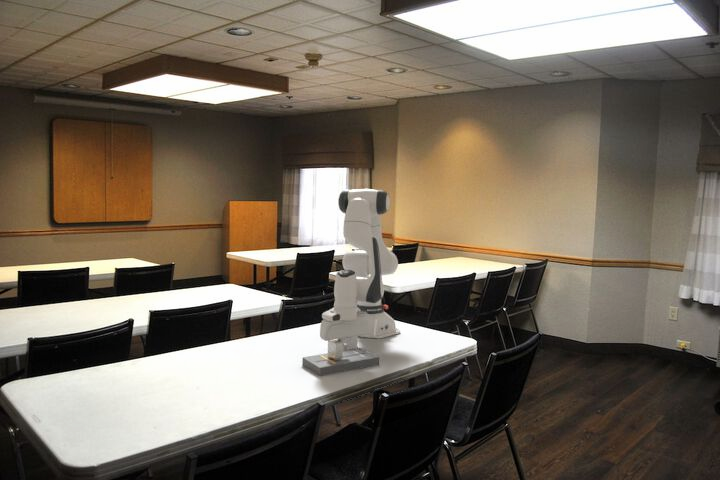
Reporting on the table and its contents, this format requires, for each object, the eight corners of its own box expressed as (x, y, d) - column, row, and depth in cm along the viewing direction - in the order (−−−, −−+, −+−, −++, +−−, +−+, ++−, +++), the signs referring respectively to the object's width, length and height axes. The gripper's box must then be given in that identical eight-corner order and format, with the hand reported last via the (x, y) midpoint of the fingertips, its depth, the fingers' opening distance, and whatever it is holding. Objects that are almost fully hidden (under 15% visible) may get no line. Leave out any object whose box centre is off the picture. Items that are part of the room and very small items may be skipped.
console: (359, 354, 220) (359, 347, 220) (379, 364, 208) (379, 356, 208) (302, 365, 206) (302, 357, 206) (320, 376, 194) (320, 367, 194)
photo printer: (356, 348, 228) (357, 320, 227) (358, 351, 224) (358, 322, 223) (332, 349, 227) (333, 320, 226) (333, 352, 223) (333, 323, 222)
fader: (334, 354, 209) (334, 337, 208) (342, 358, 204) (343, 341, 203) (327, 355, 207) (327, 338, 206) (335, 360, 202) (335, 342, 201)
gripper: (363, 308, 214) (362, 342, 215) (318, 314, 203) (317, 350, 204) (372, 311, 209) (371, 346, 210) (326, 317, 198) (325, 354, 199)
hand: (344, 348), depth 207 cm, fingers closed
